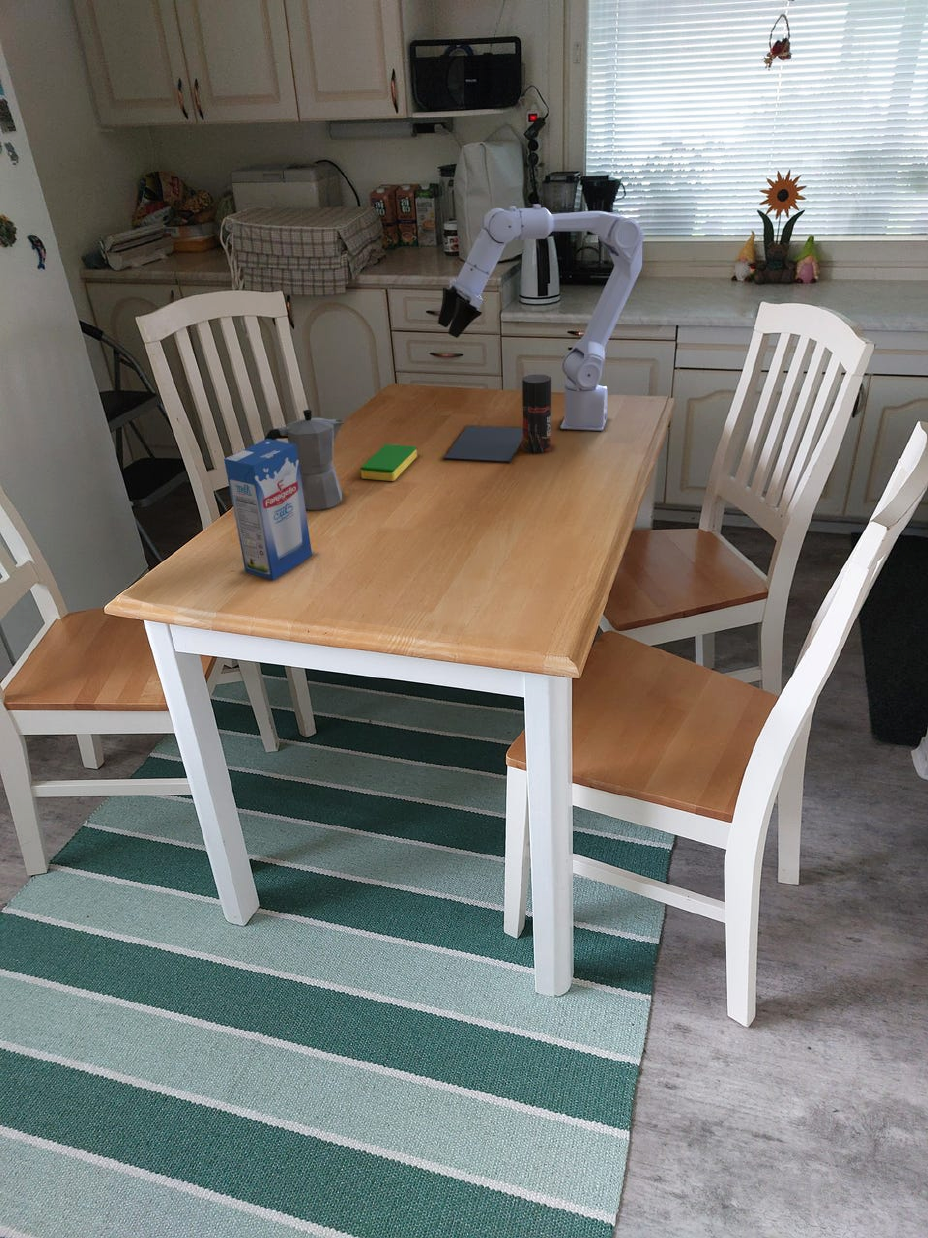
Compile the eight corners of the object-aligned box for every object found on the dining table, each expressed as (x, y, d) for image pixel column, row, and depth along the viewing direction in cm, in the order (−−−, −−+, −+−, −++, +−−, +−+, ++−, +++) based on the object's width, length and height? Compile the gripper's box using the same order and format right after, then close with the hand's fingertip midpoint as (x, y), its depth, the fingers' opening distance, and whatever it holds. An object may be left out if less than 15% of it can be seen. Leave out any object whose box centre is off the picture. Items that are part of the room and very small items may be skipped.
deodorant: (548, 453, 192) (549, 383, 185) (520, 452, 194) (520, 382, 186) (552, 443, 197) (552, 374, 190) (524, 442, 198) (524, 374, 191)
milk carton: (273, 580, 150) (253, 465, 139) (245, 572, 153) (223, 458, 142) (312, 555, 157) (296, 444, 146) (285, 547, 160) (267, 438, 149)
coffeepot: (343, 485, 183) (333, 396, 173) (360, 501, 175) (350, 410, 166) (268, 502, 177) (253, 411, 168) (282, 519, 170) (267, 426, 160)
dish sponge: (361, 478, 185) (359, 467, 184) (386, 454, 196) (385, 443, 195) (393, 481, 183) (392, 470, 182) (417, 456, 194) (416, 445, 193)
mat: (528, 429, 205) (528, 428, 205) (509, 462, 189) (509, 461, 189) (467, 426, 209) (467, 425, 208) (444, 459, 192) (444, 457, 192)
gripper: (450, 251, 189) (421, 312, 194) (473, 267, 177) (441, 332, 182) (479, 266, 192) (449, 326, 197) (502, 283, 181) (470, 346, 186)
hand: (447, 330), depth 190 cm, fingers open, 7 cm apart
